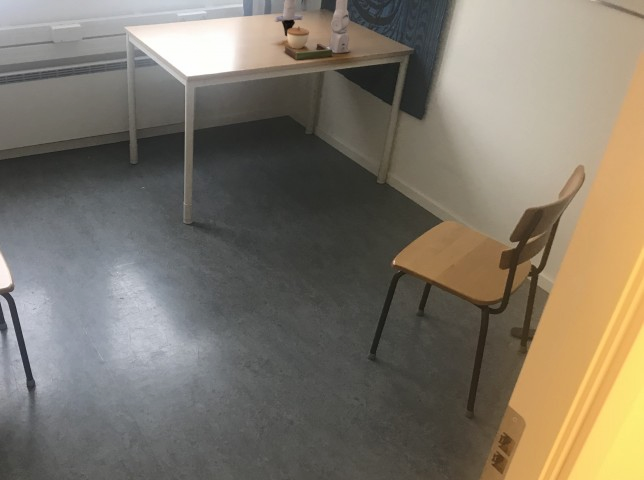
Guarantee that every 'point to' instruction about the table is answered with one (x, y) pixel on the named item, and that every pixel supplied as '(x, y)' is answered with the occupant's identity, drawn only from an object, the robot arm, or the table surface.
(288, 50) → the olive green tray
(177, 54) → the table surface
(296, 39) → the trinket box
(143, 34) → the table surface
